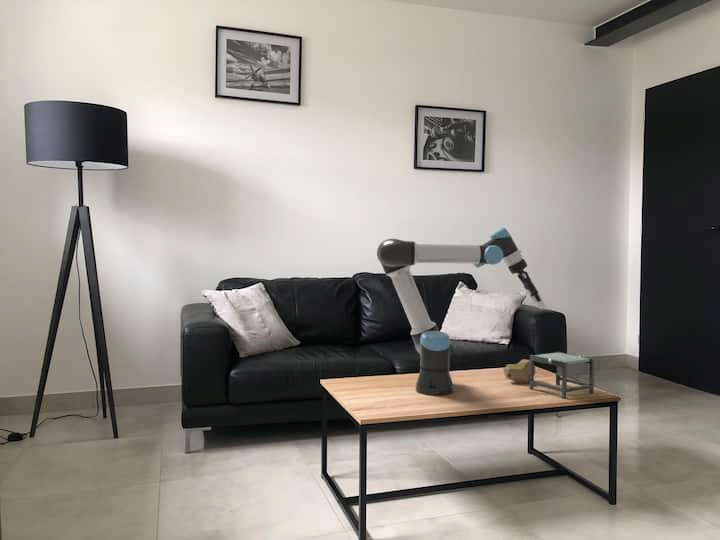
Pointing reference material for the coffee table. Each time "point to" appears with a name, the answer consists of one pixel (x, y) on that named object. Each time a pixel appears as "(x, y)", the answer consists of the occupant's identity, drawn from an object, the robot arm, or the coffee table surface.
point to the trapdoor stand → (564, 376)
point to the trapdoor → (569, 363)
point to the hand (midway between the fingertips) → (539, 304)
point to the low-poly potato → (518, 371)
